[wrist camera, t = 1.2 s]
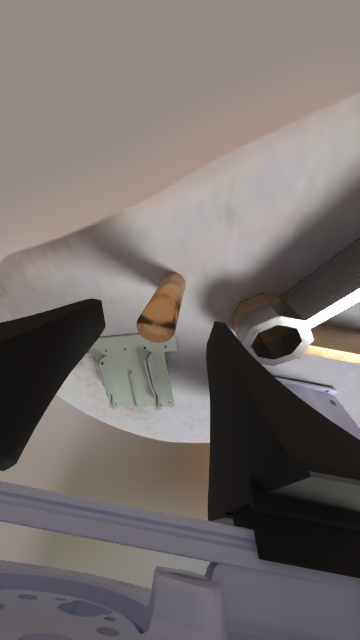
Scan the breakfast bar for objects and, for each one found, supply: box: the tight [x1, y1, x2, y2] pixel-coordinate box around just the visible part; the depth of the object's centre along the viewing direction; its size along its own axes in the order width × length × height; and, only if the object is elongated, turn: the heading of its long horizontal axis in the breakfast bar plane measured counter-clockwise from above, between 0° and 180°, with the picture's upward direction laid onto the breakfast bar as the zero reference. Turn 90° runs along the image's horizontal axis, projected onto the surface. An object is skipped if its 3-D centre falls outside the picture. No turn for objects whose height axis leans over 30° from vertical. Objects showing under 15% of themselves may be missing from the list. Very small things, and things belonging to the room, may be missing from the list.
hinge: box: [232, 238, 360, 366], centre depth 12 cm, size 16×15×4 cm
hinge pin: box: [137, 273, 185, 343], centre depth 13 cm, size 2×2×8 cm
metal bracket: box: [84, 333, 178, 414], centre depth 23 cm, size 14×6×15 cm
